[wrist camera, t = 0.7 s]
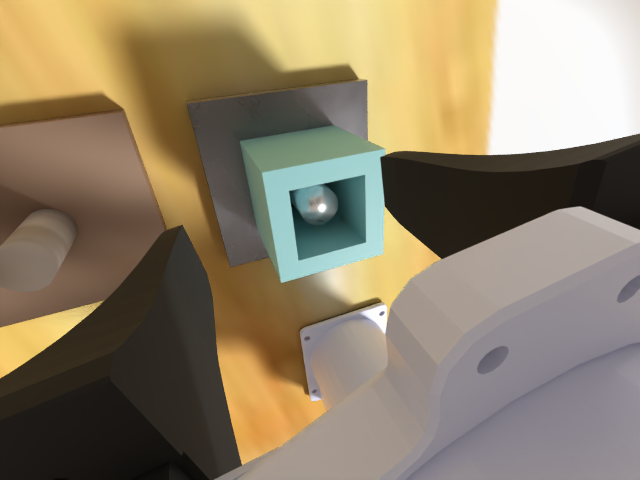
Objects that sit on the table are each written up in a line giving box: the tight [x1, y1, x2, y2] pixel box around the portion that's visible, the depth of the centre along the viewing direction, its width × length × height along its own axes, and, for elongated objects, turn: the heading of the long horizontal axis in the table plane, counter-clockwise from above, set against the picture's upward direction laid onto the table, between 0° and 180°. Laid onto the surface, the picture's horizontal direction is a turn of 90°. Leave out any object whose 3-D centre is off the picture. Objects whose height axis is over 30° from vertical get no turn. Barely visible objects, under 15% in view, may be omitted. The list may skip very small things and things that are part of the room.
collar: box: [240, 125, 385, 283], centre depth 18 cm, size 6×6×6 cm
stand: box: [186, 79, 368, 267], centre depth 19 cm, size 10×10×6 cm
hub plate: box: [0, 109, 167, 327], centre depth 16 cm, size 10×10×5 cm
